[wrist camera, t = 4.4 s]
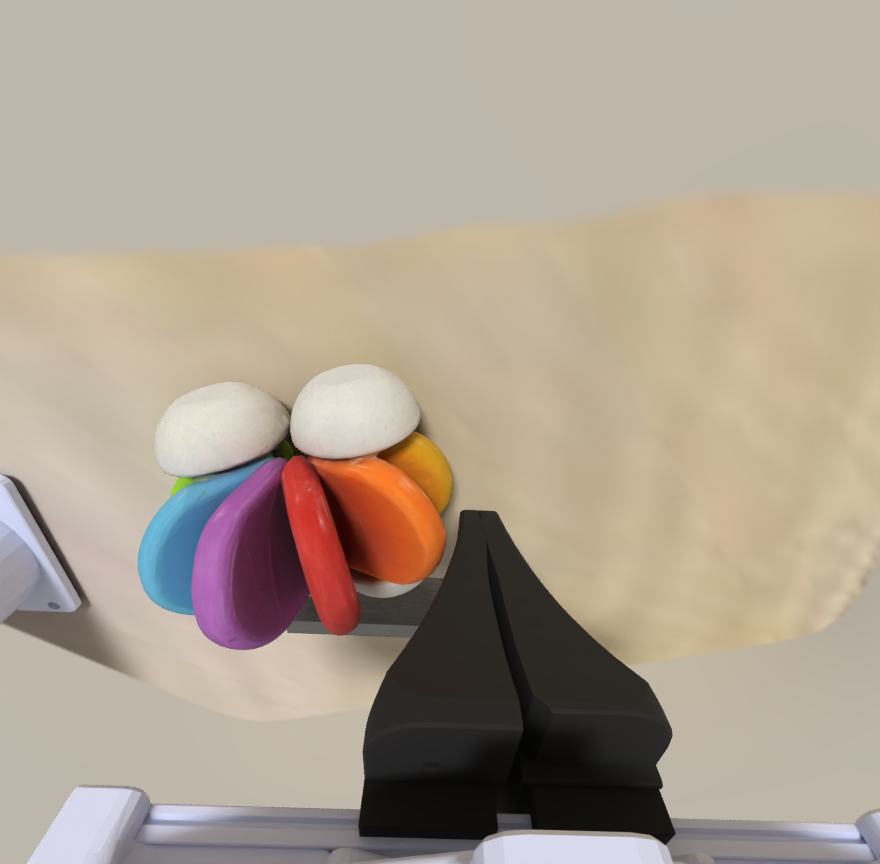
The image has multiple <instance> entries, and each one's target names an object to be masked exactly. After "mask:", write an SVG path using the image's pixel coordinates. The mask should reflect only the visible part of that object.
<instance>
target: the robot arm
mask: <svg viewBox="0 0 880 864" xmlns="http://www.w3.org/2000/svg"><path fill="white" fill-rule="evenodd" d="M80 605H81V599H80V598H79V596H78V594H77V592H76V591H75V589H74V587H73V585H72V584H71V582H70V580H69V579H68V577H67V575H66V573H65V572H64V570H63V568H62V566H61V565H60V563H59V561H58V559H57V558H56V556H55V554H54V553H53V551H52V549H51V547H50V546H49V544H48V542H47V540H46V539H45V537H44V535H43V534H42V532H41V530H40V528H39V527H38V525H37V523H36V521H35V520H34V518H33V516H32V514H31V513H30V511H29V509H28V508H27V506H26V504H25V502H24V501H23V499H22V497H21V495H20V494H19V492H18V490H17V488H16V487H15V485H14V483H13V482H12V481H11V480H10V479H9V478H7V477H5V476H3V475H0V624H1V623H2V622H3V621H4V620H5V619H6V618H8V617H9V616H10V615H11V614H12V613H13V612H14V611H15V610H22V611H47V612H73V611H75V610H76V609H77V608H78V607H79V606H80ZM671 739H672V729H671V727H670V724H669V722H668V720H667V718H666V715H665V713H664V711H663V709H662V707H661V705H660V703H659V701H658V699H657V698H656V696H655V694H654V693H653V691H652V689H651V687H650V686H649V684H648V683H647V682H646V681H645V680H644V679H642V678H641V677H640V676H639V675H637V674H636V673H635V672H633V671H632V670H631V669H630V668H628V667H627V666H626V665H624V664H623V663H622V662H620V661H619V660H618V659H617V658H615V657H614V656H613V655H612V654H611V653H609V652H608V651H607V650H606V649H605V648H604V647H602V646H601V645H600V644H599V643H598V642H597V641H596V640H594V639H593V638H592V637H591V636H590V635H589V634H588V633H587V632H586V631H585V630H584V629H583V628H582V627H581V626H580V625H579V624H578V623H577V622H576V621H575V620H574V619H573V618H572V617H571V616H570V615H569V614H568V613H567V612H566V611H565V610H564V609H563V608H562V607H561V605H560V604H559V603H558V602H557V601H556V600H555V599H554V597H553V596H552V595H551V594H550V593H549V592H548V590H547V589H546V588H545V587H544V585H543V584H542V583H541V582H540V580H539V579H538V578H537V576H536V575H535V573H534V572H533V571H532V569H531V568H530V567H529V565H528V564H527V562H526V561H525V559H524V558H523V556H522V555H521V553H520V552H519V550H518V549H517V547H516V546H515V544H514V542H513V541H512V539H511V537H510V536H509V534H508V532H507V530H506V529H505V527H504V525H503V523H502V521H501V519H500V517H499V515H498V514H497V513H496V511H477V510H463V511H461V512H460V519H459V528H458V538H457V542H456V546H455V549H454V553H453V556H452V559H451V561H450V564H449V567H448V569H447V572H446V575H445V577H444V579H443V582H442V584H441V586H440V588H439V590H438V592H437V594H436V596H435V598H434V600H433V602H432V604H431V606H430V608H429V610H428V612H427V613H426V615H425V617H424V619H423V620H422V622H421V624H420V625H419V627H418V628H417V630H416V631H415V633H414V635H413V636H412V638H411V639H410V641H409V642H408V644H407V645H406V647H405V648H404V650H403V651H402V652H401V654H400V655H399V656H398V658H397V659H396V660H395V662H394V663H393V664H392V666H391V667H390V668H389V670H388V671H387V673H386V675H385V678H384V680H383V682H382V684H381V686H380V688H379V691H378V693H377V695H376V698H375V700H374V703H373V705H372V708H371V711H370V714H369V717H368V721H367V725H366V730H365V738H364V745H363V761H364V775H365V780H364V787H363V795H362V802H361V809H360V810H354V809H320V808H284V807H281V808H280V807H249V806H248V807H247V806H212V805H178V804H151V803H150V800H149V797H148V795H147V794H146V793H145V792H144V791H143V790H141V789H138V788H135V787H129V786H108V785H107V786H106V785H105V786H104V785H80V786H78V787H76V788H75V789H74V790H73V792H72V793H71V795H70V796H69V798H68V799H67V801H66V803H65V804H64V806H63V807H62V809H61V810H60V812H59V814H58V815H57V817H56V818H55V820H54V822H53V823H52V824H51V826H50V828H49V829H48V831H47V833H46V834H45V835H44V837H43V839H42V840H41V842H40V843H39V845H38V846H37V848H36V849H35V851H34V853H33V854H32V856H31V857H30V859H29V860H28V862H27V864H880V809H876V810H872V811H869V812H867V813H865V814H863V815H862V816H860V817H859V818H858V819H857V820H856V823H817V822H783V821H748V820H712V819H677V818H670V817H669V815H668V812H667V809H666V806H665V804H664V801H663V798H662V796H661V793H660V791H659V789H661V788H662V787H663V784H662V780H661V777H660V775H659V772H658V770H657V767H656V764H657V762H658V761H659V759H660V758H661V756H662V755H663V754H664V752H665V751H666V749H667V748H668V746H669V743H670V741H671Z"/></svg>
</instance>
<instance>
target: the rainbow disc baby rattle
mask: <svg viewBox="0 0 880 864" xmlns="http://www.w3.org/2000/svg"><path fill="white" fill-rule="evenodd" d="M419 421H420V409H419V406H418V404H417V401H416V399H415V397H414V396H413V394H412V392H411V391H410V390H409V388H408V387H407V386H406V385H405V384H404V383H403V382H402V381H401V380H400V379H399V378H398V377H397V376H395V375H394V374H392V373H391V372H389V371H387V370H385V369H383V368H381V367H378V366H375V365H369V364H352V365H345V366H340V367H336V368H333V369H330V370H327V371H324V372H322V373H320V374H319V375H317V376H316V377H314V378H313V379H312V380H311V381H310V382H309V383H308V384H307V385H306V386H305V387H304V388H303V390H302V391H301V393H300V394H299V396H298V398H297V400H296V402H295V404H294V406H293V410H292V414H291V416H290V415H289V413H288V412H287V410H286V409H285V408H284V406H283V405H282V404H281V403H280V402H279V401H278V400H277V399H276V398H275V397H273V396H272V395H270V394H269V393H268V392H266V391H265V390H263V389H260V388H258V387H255V386H253V385H249V384H245V383H240V382H224V383H218V384H213V385H209V386H206V387H203V388H200V389H197V390H194V391H192V392H189V393H187V394H185V395H183V396H181V397H180V398H178V399H177V400H176V401H174V402H173V403H172V404H171V405H170V406H169V408H168V409H167V410H166V412H165V413H164V415H163V417H162V418H161V420H160V422H159V424H158V427H157V430H156V434H155V455H156V460H157V463H158V466H159V467H160V469H161V470H162V471H163V472H164V473H166V474H169V475H171V476H176V477H179V479H178V480H177V482H176V483H175V485H174V488H173V490H172V493H171V497H170V499H169V500H168V501H167V502H166V503H165V504H164V505H163V506H162V507H161V509H160V510H159V511H158V512H157V514H156V515H155V516H154V517H153V519H152V520H151V522H150V524H149V526H148V527H147V529H146V532H145V534H144V536H143V538H142V542H141V545H140V550H139V555H138V571H139V576H140V580H141V583H142V585H143V588H144V590H145V592H146V593H147V595H148V596H149V598H150V599H151V600H152V601H153V602H155V603H156V604H157V605H159V606H160V607H162V608H164V609H166V610H169V611H172V612H176V613H179V614H186V615H195V617H196V620H197V623H198V626H199V627H200V629H201V631H202V632H203V634H204V635H205V636H206V637H207V638H208V639H210V640H211V641H213V642H214V643H216V644H218V645H220V646H223V647H226V648H229V649H237V650H250V649H255V648H259V647H262V646H264V645H266V644H268V643H270V642H272V641H273V640H275V639H276V638H277V637H279V636H280V635H281V634H282V633H283V632H284V631H285V630H286V629H287V628H288V627H289V626H290V625H291V624H292V622H293V621H294V619H295V618H296V616H297V615H298V614H299V612H300V611H301V609H302V607H303V606H304V604H305V603H306V601H307V599H308V597H310V596H311V597H312V599H313V602H314V605H315V608H316V611H317V613H318V616H319V618H320V620H321V622H322V623H323V625H324V627H325V628H326V630H328V631H329V632H330V633H332V634H335V635H345V634H348V633H350V632H351V631H353V630H354V629H355V628H356V627H357V626H358V624H359V622H360V618H361V606H360V602H359V599H358V596H357V591H358V592H359V593H362V594H364V595H367V596H371V597H377V598H388V597H395V596H398V595H401V594H404V593H406V592H408V591H410V590H412V589H413V588H415V587H416V586H417V585H419V584H420V583H421V582H422V581H423V580H424V579H425V578H427V577H428V576H430V575H431V574H432V573H433V571H434V570H435V569H436V567H437V566H438V564H439V563H440V561H441V559H442V556H443V553H444V550H445V545H446V531H445V528H444V525H443V523H442V520H441V518H440V515H441V514H442V513H443V511H444V510H445V508H446V507H447V505H448V503H449V501H450V498H451V495H452V490H453V480H452V473H451V469H450V466H449V464H448V461H447V459H446V458H445V456H444V455H443V453H442V452H441V450H440V449H439V448H438V447H437V446H436V445H435V444H434V443H433V442H432V441H431V440H430V439H428V438H427V437H425V436H423V435H421V434H419V433H417V432H415V431H414V430H415V429H416V427H417V425H418V424H419ZM289 432H291V437H292V441H293V443H294V445H295V447H296V448H298V449H299V450H300V451H301V452H303V453H304V454H306V455H309V457H308V458H306V457H305V456H304V455H299V456H295V455H294V452H293V450H292V448H291V446H290V445H289V443H288V442H287V441H286V440H285V439H284V438H285V436H287V435H288V433H289Z"/></svg>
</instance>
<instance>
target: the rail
mask: <svg viewBox="0 0 880 864" xmlns="http://www.w3.org/2000/svg"><path fill="white" fill-rule="evenodd" d="M442 582H443V579H436V578H425V579H424V580H423V581H422V582H421V583H420V584H419V585H417V586H416V587H415V588H413V589H412V590H410V591H408V592H406V593H404V594H401V595H398V596H395V597H388V598H377V597H371V596H367V595H364V594H362V593H359V592H358V591H357V596H358V599H359V602H360V606H361V618H360V622H359V624H358V626H357V627H356V628H355V629H354V630H353V631H351V632H350V633H348V634H345V635H359V636H385V637H411V638H412V636H413V635H414V633H415V631H416V630H417V628H418V627H419V625H420V624H421V622H422V620H423V619H424V617H425V615H426V613H427V612H428V610H429V608H430V606H431V604H432V602H433V600H434V598H435V596H436V594H437V592H438V590H439V588H440V586H441V584H442ZM287 632H288V633H307V634H332V633H330V632H329V631H328V630H326V628H325V627H324V625H323V623H322V622H321V620H320V618H319V616H318V613H317V611H316V608H315V605H314V602H313V599H312V597H311V596H310V597H308V599H307V601H306V603H305V604H304V606H303V607H302V609H301V611H300V612H299V614H298V615H297V616H296V618H295V619H294V621H293V622H292V624H291V625H290V626H289V627H288V628H287ZM333 635H335V634H333Z"/></svg>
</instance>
